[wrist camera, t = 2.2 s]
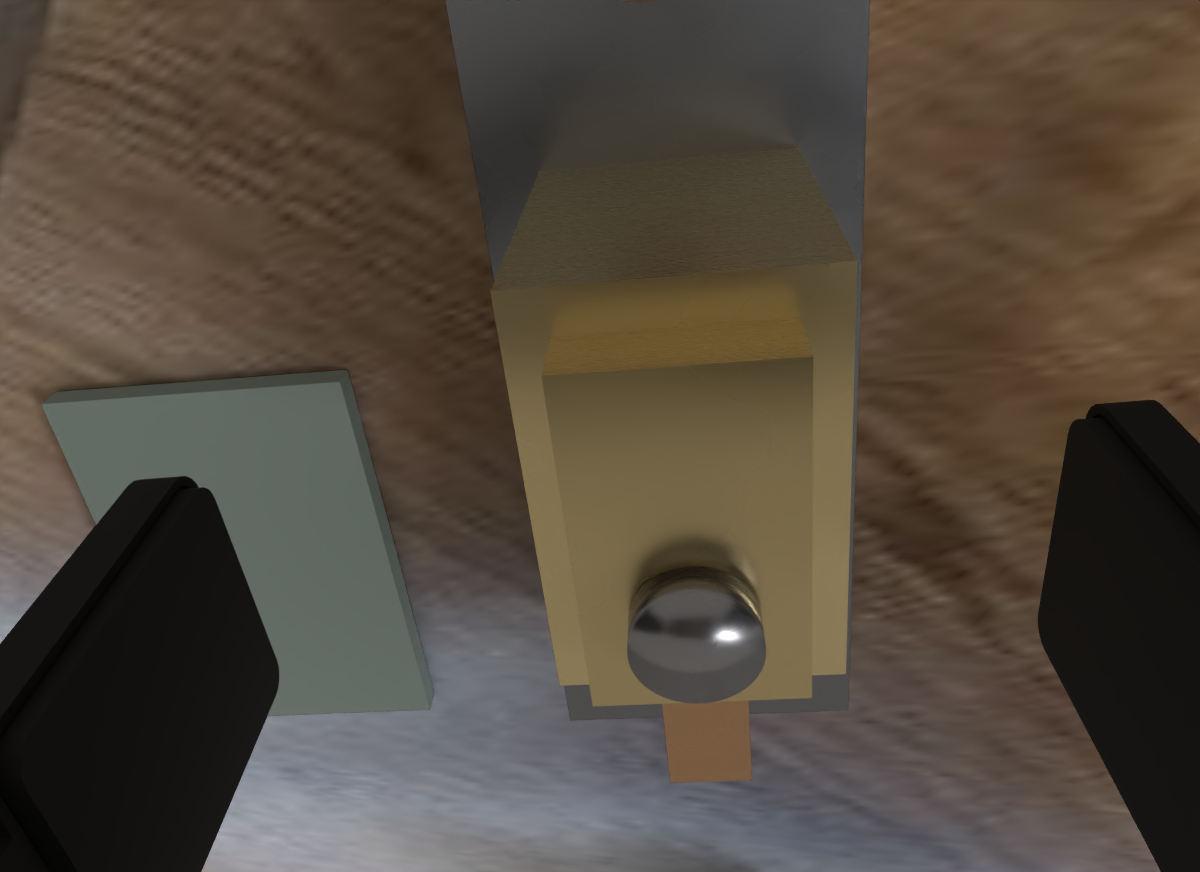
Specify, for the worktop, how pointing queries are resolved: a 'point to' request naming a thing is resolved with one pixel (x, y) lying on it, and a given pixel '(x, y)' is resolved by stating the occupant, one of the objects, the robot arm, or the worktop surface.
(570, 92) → the body
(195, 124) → the worktop surface
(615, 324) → the lever cap
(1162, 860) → the robot arm
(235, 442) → the mat
